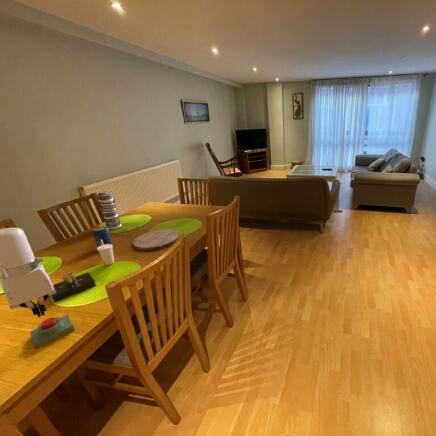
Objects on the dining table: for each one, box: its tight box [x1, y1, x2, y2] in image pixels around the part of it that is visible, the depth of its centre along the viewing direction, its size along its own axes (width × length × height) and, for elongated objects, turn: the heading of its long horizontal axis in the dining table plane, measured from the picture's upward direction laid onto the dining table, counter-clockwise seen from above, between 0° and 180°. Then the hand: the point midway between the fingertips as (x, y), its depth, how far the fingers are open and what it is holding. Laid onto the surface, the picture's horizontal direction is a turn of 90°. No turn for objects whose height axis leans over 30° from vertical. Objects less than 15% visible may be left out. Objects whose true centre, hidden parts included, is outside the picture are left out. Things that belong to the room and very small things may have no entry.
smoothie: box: [96, 240, 115, 266], centre depth 122 cm, size 6×6×14 cm
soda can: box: [92, 226, 113, 248], centre depth 138 cm, size 7×7×12 cm
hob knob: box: [61, 271, 77, 286], centre depth 104 cm, size 4×4×5 cm
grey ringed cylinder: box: [96, 190, 122, 230], centre depth 163 cm, size 9×9×25 cm
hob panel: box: [50, 271, 97, 303], centre depth 105 cm, size 14×10×3 cm
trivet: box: [132, 228, 180, 252], centre depth 148 cm, size 25×25×2 cm
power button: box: [40, 317, 57, 329], centre depth 82 cm, size 4×4×2 cm
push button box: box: [29, 314, 76, 350], centre depth 83 cm, size 10×8×4 cm
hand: (41, 314), depth 80 cm, fingers closed
